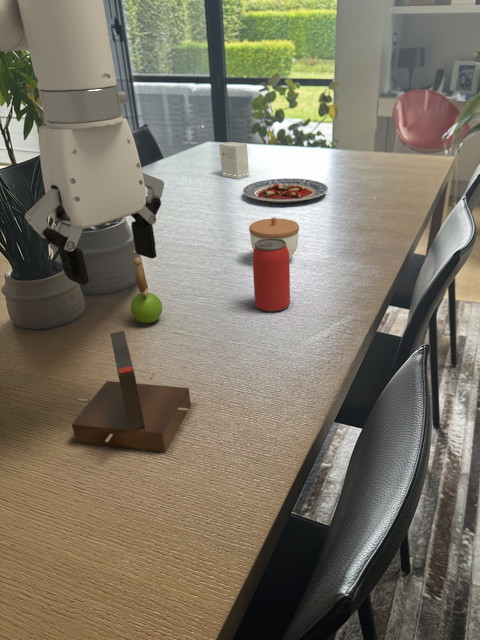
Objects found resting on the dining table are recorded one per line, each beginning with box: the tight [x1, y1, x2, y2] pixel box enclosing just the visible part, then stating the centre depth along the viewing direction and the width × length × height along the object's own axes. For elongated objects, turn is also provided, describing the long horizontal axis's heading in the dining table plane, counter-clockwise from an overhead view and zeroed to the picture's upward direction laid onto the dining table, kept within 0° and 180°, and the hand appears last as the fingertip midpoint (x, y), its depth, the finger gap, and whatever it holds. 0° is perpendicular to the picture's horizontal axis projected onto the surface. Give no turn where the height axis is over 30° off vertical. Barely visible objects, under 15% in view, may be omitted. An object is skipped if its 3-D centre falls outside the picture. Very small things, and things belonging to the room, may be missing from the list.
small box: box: [219, 141, 250, 180], centre depth 188 cm, size 8×6×10 cm
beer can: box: [251, 238, 291, 313], centre depth 99 cm, size 7×7×12 cm
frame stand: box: [71, 372, 192, 453], centre depth 72 cm, size 15×15×3 cm
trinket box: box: [248, 217, 300, 259], centre depth 120 cm, size 11×11×9 cm
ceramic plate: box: [242, 178, 329, 204], centre depth 167 cm, size 26×26×3 cm
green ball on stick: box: [130, 250, 163, 324], centre depth 96 cm, size 5×6×12 cm
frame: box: [110, 330, 145, 431], centre depth 69 cm, size 11×2×8 cm, turn 19°
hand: (114, 268), depth 65 cm, fingers open, 9 cm apart
